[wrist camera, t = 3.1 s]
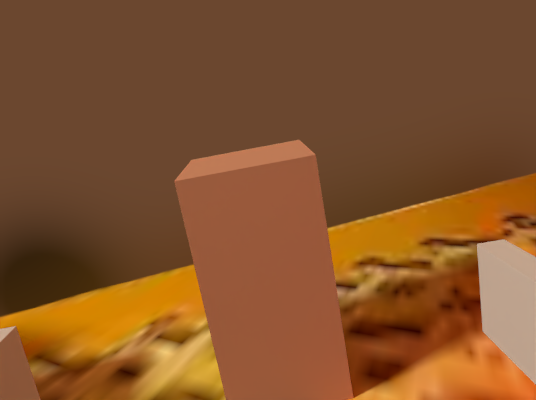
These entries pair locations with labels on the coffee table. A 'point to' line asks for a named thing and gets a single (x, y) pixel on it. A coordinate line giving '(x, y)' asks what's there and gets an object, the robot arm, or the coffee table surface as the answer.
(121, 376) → the coffee table surface
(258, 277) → the terracotta block
